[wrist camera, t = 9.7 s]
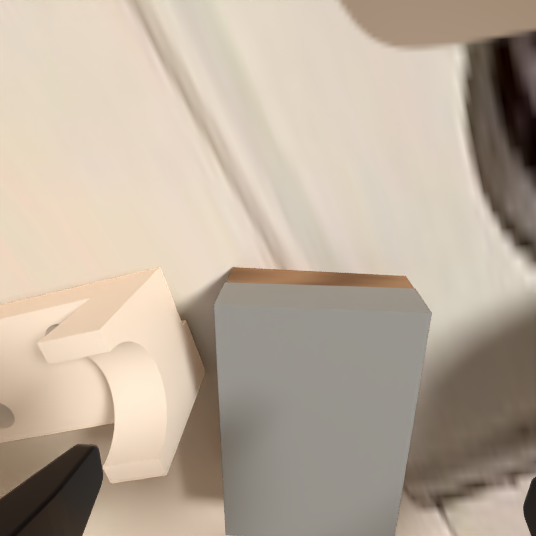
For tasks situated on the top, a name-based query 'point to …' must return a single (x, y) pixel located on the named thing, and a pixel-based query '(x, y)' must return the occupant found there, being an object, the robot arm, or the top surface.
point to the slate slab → (316, 405)
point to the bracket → (101, 369)
